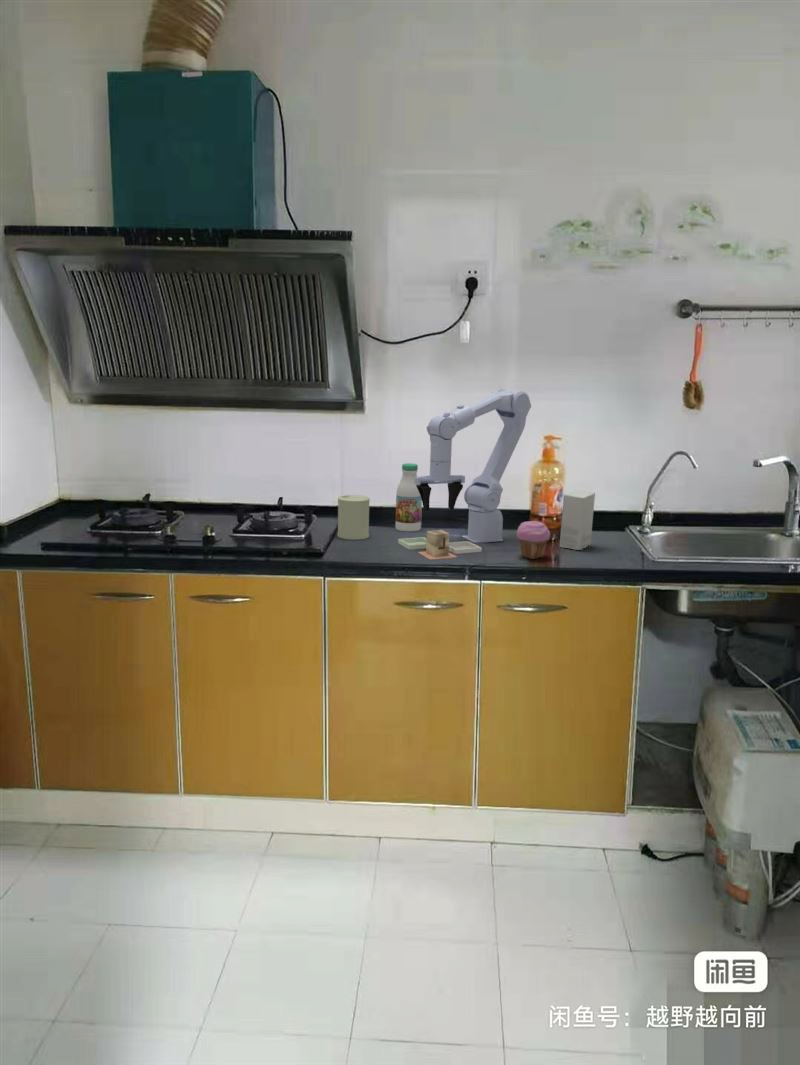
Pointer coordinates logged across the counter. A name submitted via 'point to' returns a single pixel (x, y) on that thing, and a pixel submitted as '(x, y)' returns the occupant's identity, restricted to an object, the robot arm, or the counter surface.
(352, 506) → the can
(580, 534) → the skincare box
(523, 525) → the cupcake
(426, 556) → the terracotta pad
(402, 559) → the counter surface
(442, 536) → the brown block
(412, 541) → the sage green tray
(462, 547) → the light grey tray
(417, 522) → the milk bottle
